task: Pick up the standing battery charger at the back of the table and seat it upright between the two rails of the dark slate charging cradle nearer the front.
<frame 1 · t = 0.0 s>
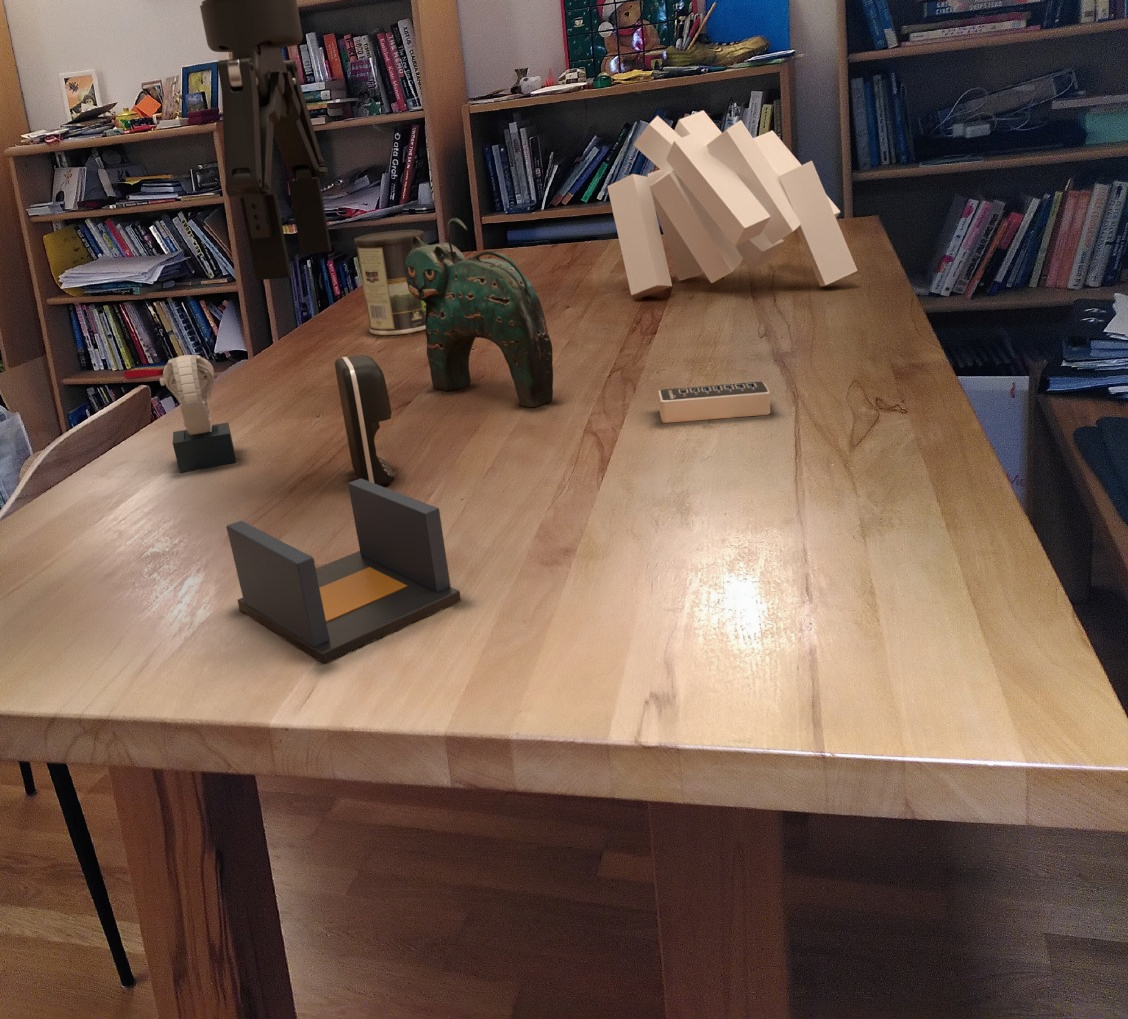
hand: (296, 264, 91), 20 cm above the table, tool pointing down, fingers open, 13 cm apart
pile of blocks: (728, 288, 168), on the table
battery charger: (378, 479, 98), on the table
watch: (207, 462, 108), on the table
cradle: (348, 605, 74), on the table
ceramic cat: (491, 395, 122), on the table
multiport hub: (714, 414, 107), on the table
coffee can: (403, 329, 161), on the table
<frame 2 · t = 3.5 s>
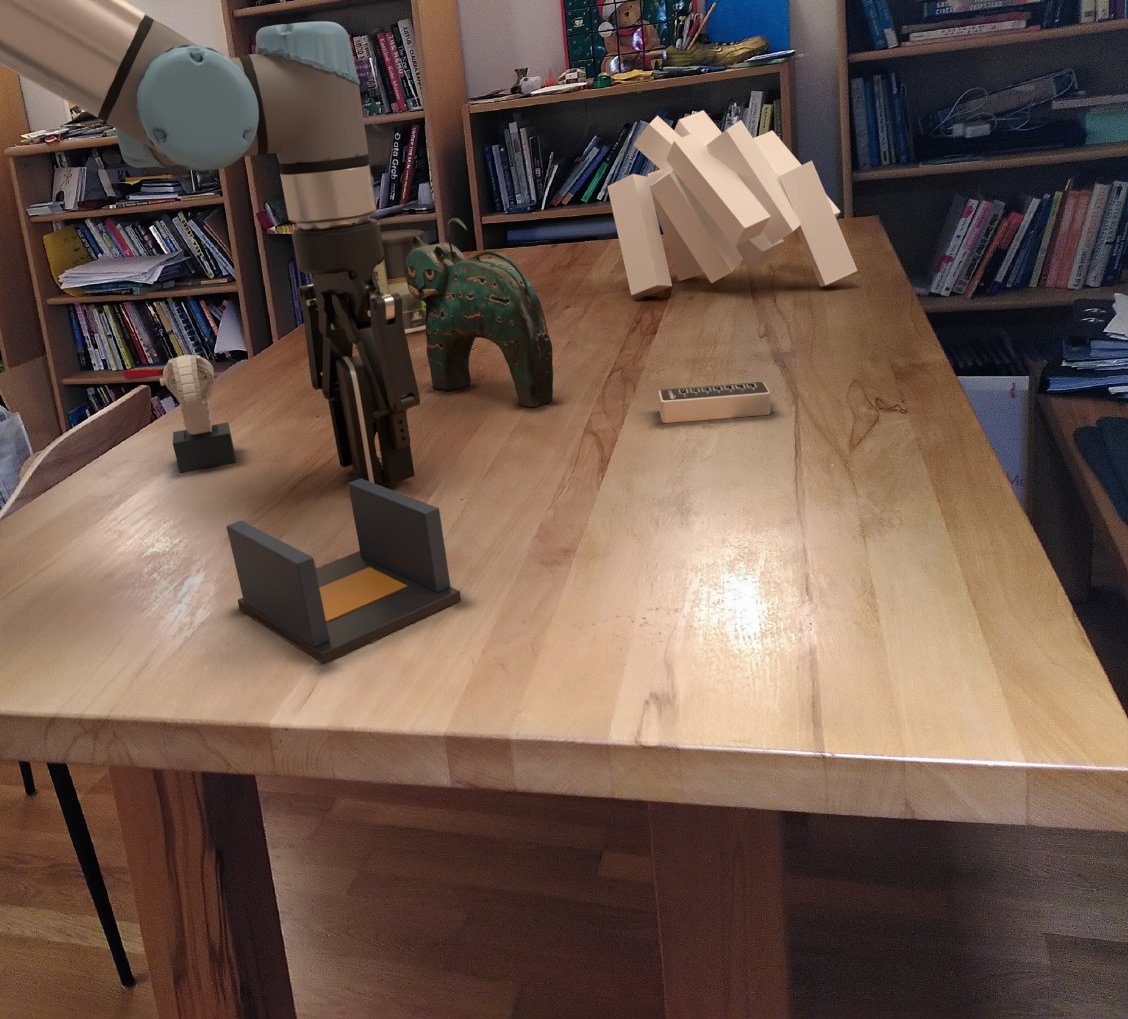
hand: (376, 470, 98), 1 cm above the table, tool pointing down, fingers closed on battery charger, 7 cm apart
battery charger: (378, 479, 98), on the table, touching gripper
everything else where it was.
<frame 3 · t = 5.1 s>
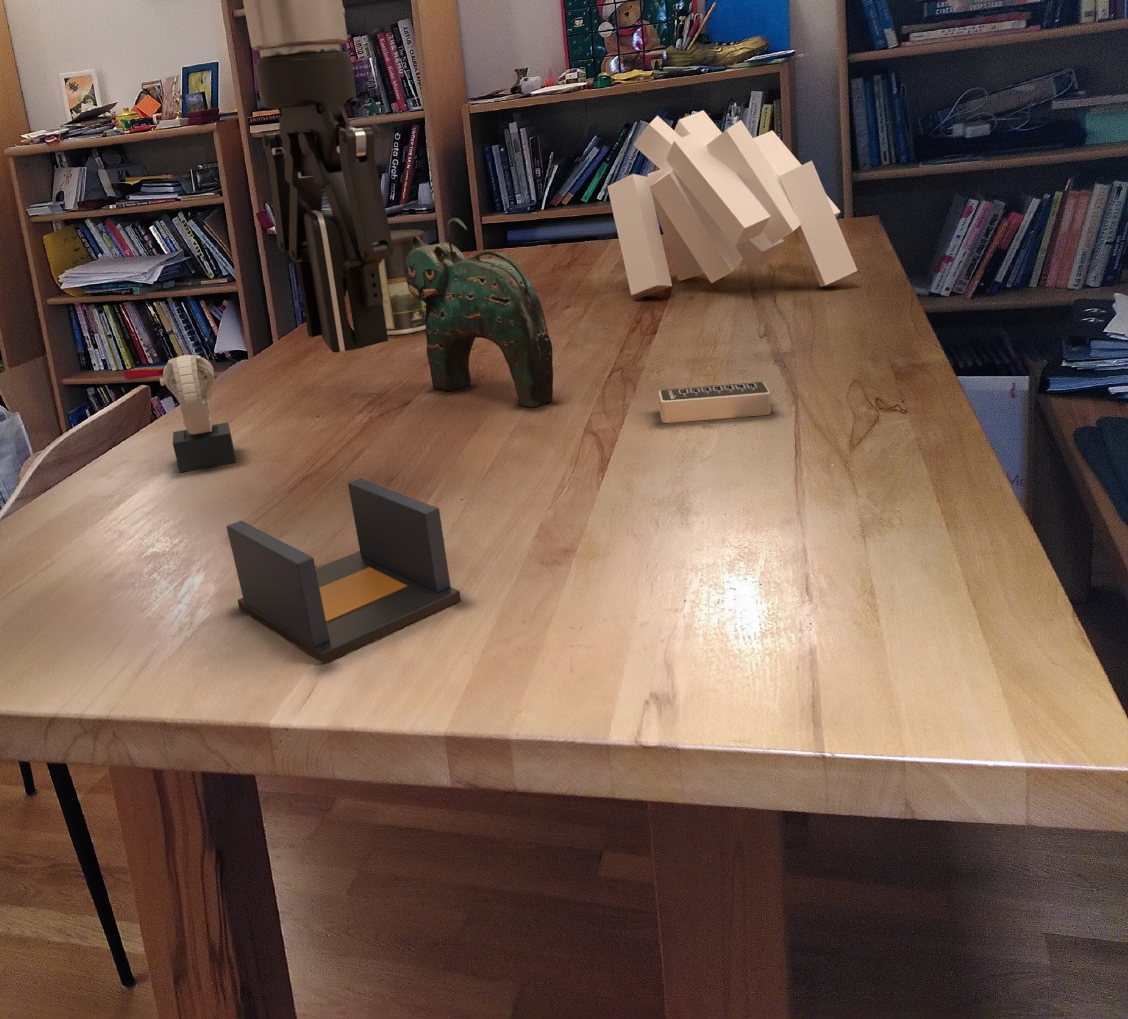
hand: (347, 338, 91), 14 cm above the table, tool pointing down, fingers closed on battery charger, 7 cm apart
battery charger: (349, 347, 91), point 13 cm above the table, touching gripper
everything else where it was.
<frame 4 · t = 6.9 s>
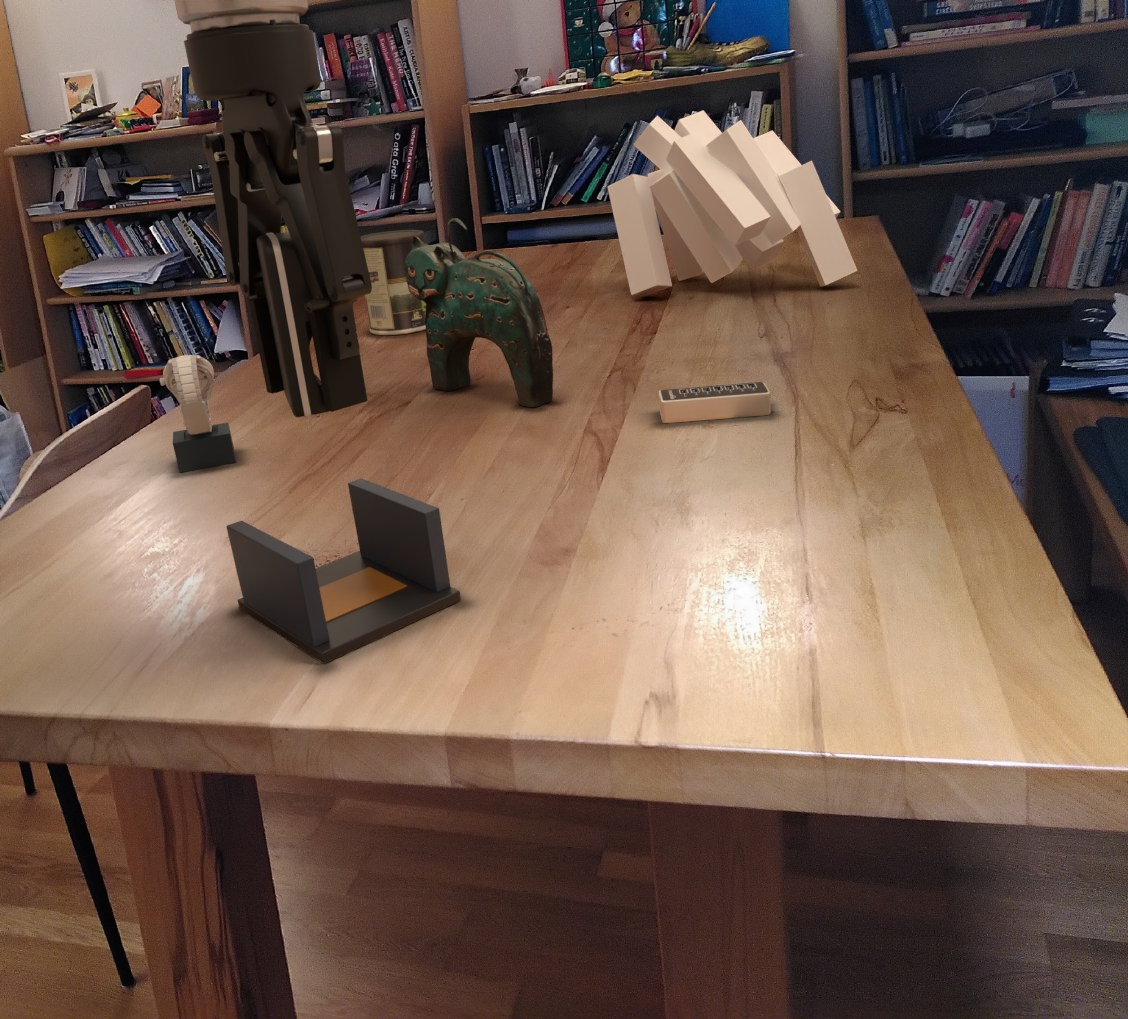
hand: (315, 396, 71), 15 cm above the table, tool pointing down, fingers closed on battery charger, 7 cm apart
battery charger: (318, 407, 71), point 14 cm above the table, touching gripper
everything else where it was.
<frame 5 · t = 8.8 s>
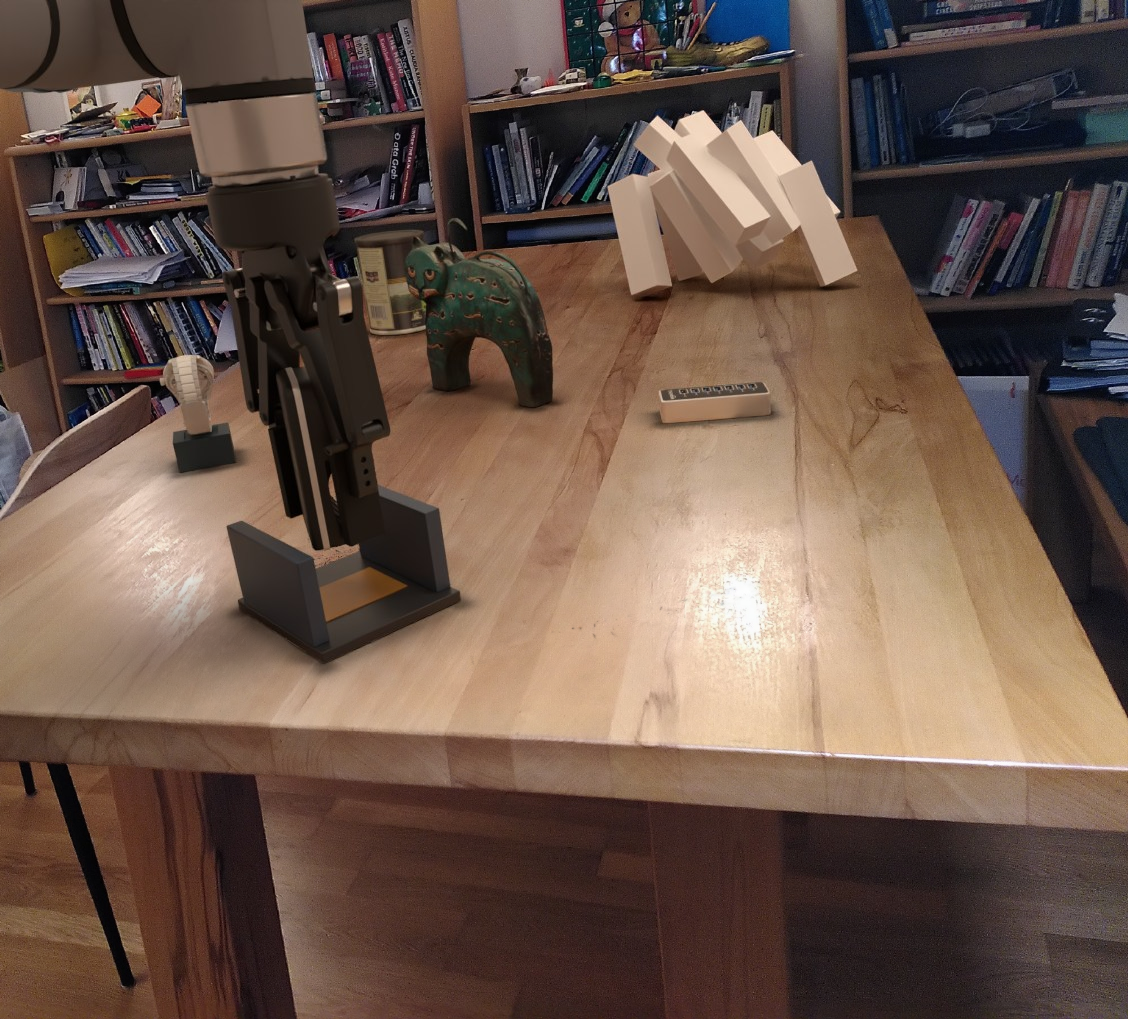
hand: (334, 524, 71), 6 cm above the table, tool pointing down, fingers closed on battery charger, 7 cm apart
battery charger: (337, 535, 72), point 5 cm above the table, touching gripper
everything else where it was.
when the fingers open (1 cm above the table, at t = 10.6 s): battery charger stays where it is, resting on cradle.
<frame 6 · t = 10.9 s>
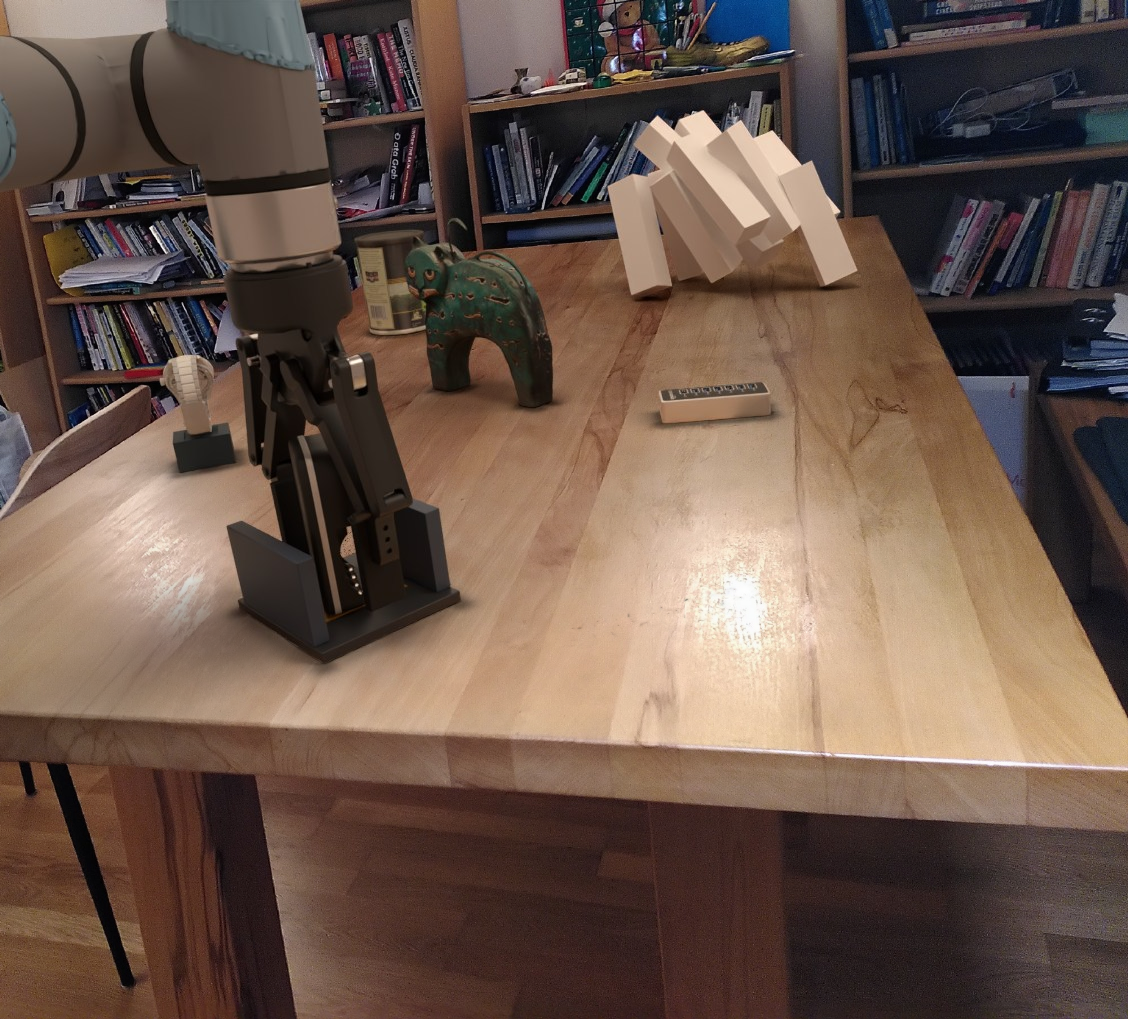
hand: (344, 580, 73), 2 cm above the table, tool pointing down, fingers open, 10 cm apart
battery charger: (348, 596, 73), point 1 cm above the table, touching cradle
everything else where it was.
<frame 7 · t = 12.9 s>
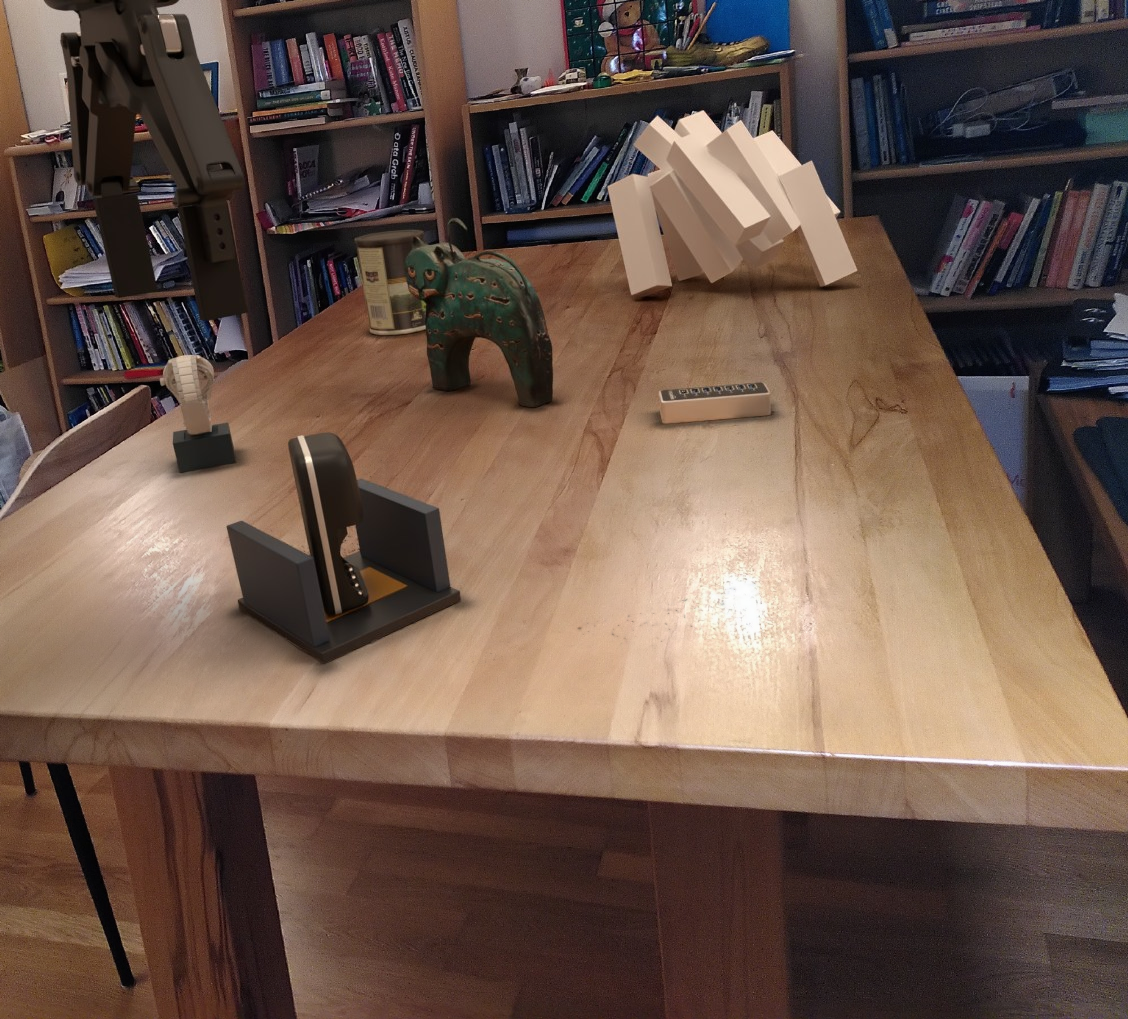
hand: (177, 305, 67), 22 cm above the table, tool pointing down, fingers open, 13 cm apart
nothing on the table moved.
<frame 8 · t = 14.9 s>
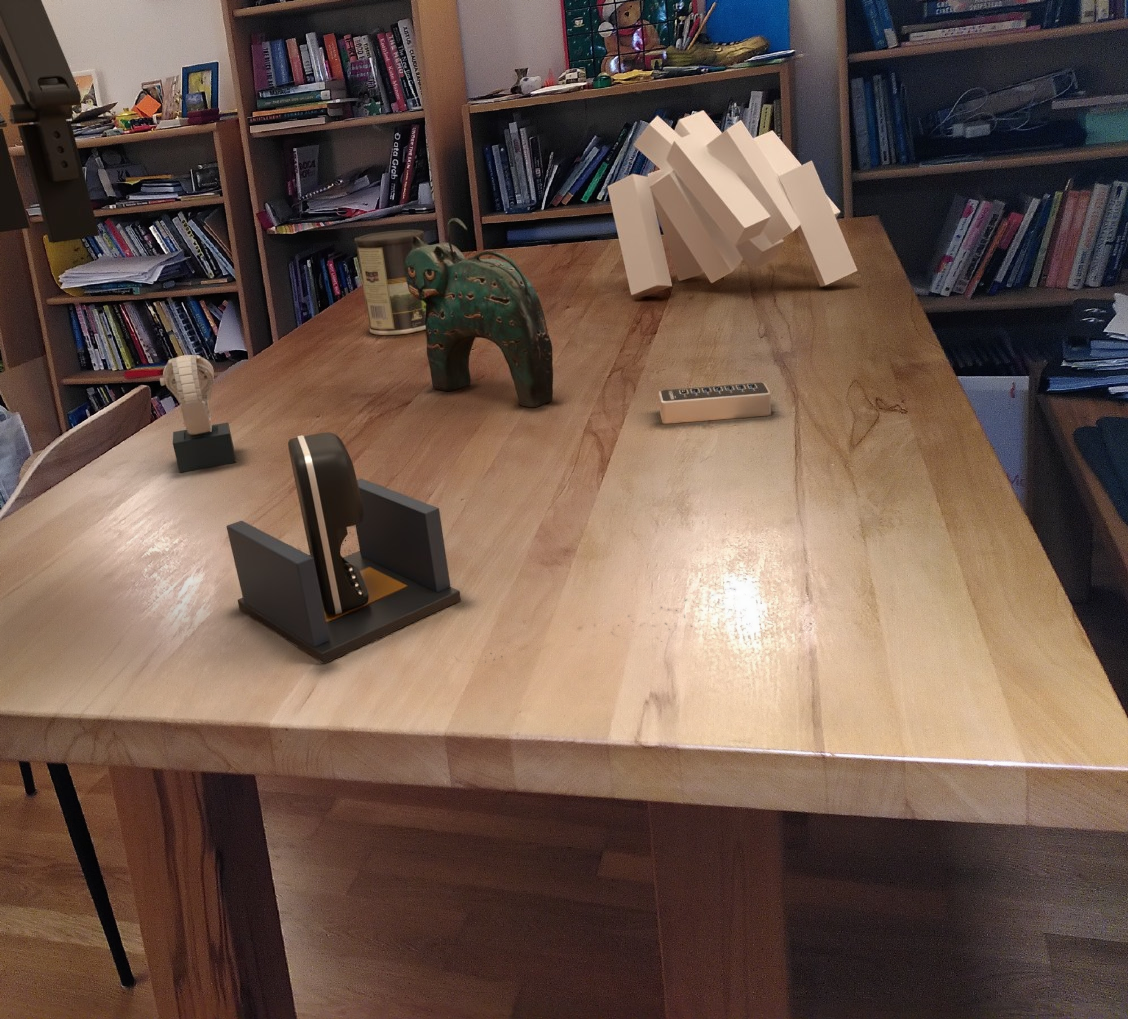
hand: (39, 235, 67), 27 cm above the table, tool pointing down, fingers open, 13 cm apart
nothing on the table moved.
at the end: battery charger 0.1 cm off-centre on the cradle, point 0.7 cm above the cradle's base; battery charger tilted 0°; the gripper is holding nothing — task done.
